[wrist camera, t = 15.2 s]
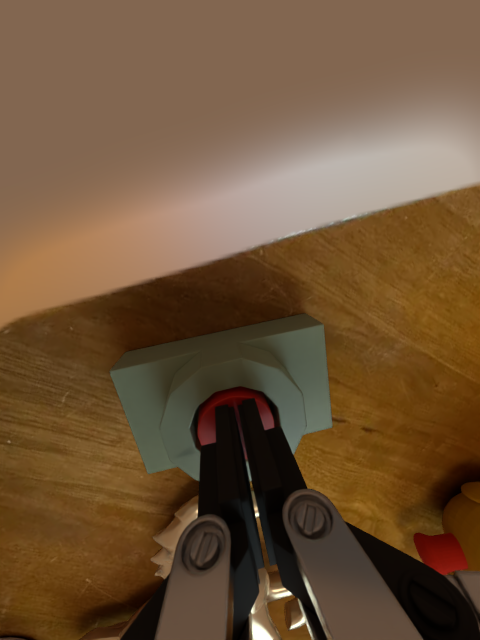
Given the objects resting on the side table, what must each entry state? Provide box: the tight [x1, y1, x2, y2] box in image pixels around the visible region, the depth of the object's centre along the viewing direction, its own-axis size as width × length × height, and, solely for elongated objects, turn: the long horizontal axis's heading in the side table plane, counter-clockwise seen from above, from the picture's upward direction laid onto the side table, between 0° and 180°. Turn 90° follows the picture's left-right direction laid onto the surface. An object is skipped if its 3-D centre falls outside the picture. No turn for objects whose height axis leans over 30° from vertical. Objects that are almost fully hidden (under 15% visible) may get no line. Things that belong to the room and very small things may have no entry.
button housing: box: [110, 313, 332, 481], centre depth 12 cm, size 10×6×4 cm, turn 100°
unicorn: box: [79, 488, 306, 640], centre depth 16 cm, size 20×4×17 cm
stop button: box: [198, 386, 274, 459], centre depth 11 cm, size 3×3×2 cm
